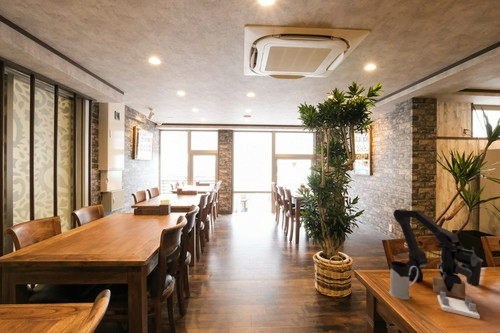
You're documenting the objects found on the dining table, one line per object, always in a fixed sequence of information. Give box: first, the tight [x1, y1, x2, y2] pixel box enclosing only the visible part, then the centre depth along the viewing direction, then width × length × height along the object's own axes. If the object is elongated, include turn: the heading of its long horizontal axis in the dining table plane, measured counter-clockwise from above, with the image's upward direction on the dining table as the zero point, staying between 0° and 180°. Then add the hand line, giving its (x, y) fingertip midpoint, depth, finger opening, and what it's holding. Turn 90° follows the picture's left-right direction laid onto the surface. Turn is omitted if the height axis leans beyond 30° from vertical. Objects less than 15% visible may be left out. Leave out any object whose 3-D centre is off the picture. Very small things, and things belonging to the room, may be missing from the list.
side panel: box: [437, 292, 480, 320], centre depth 105 cm, size 12×11×4 cm
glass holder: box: [388, 260, 419, 301], centre depth 116 cm, size 9×14×15 cm, turn 95°
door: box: [432, 275, 466, 299], centre depth 117 cm, size 12×3×7 cm, turn 60°
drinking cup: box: [465, 246, 484, 287], centre depth 127 cm, size 8×8×20 cm
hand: (448, 289), depth 117 cm, fingers closed on door, 3 cm apart
